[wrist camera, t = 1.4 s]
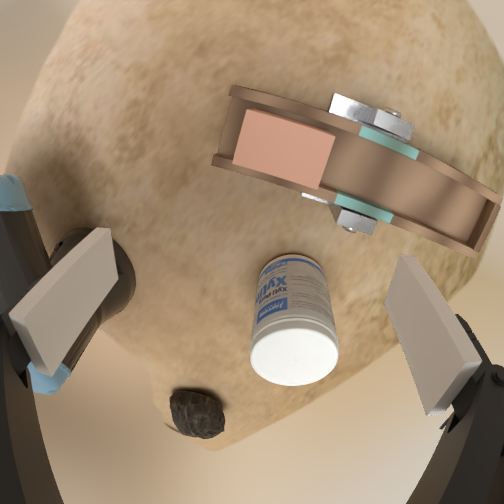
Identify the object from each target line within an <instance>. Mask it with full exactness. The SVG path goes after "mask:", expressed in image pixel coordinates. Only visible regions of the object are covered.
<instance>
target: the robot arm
mask: <svg viewBox="0 0 504 504" xmlns="http://www.w3.org/2000/svg"><path fill="white" fill-rule="evenodd" d="M32 210H33V206H32V205H30V203H29V200H28V197H27V194H26V191H25V188H24V185H23V183H22V181H21V179H20V178H19V177H18V176H17V175H15V174H4V175H0V504H64V503H63V500H62V498H61V495H60V493H59V490H58V487H57V484H56V481H55V478H54V475H53V473H52V470H51V466H50V463H49V459H48V456H47V453H46V449H45V445H44V442H43V438H42V434H41V430H40V425H39V421H38V416H37V411H36V406H35V401H34V395H33V391H34V392H37V393H40V394H53V393H55V392H57V391H58V390H59V389H60V387H61V386H62V384H63V383H64V382H65V380H66V379H67V377H69V376H70V375H71V372H72V370H73V369H74V367H75V365H76V364H77V362H78V360H79V358H80V357H81V355H82V353H83V352H84V350H85V348H86V347H87V345H88V343H89V342H90V340H91V339H92V337H93V335H94V334H95V332H96V330H97V329H98V327H99V326H100V325H101V324H102V323H104V322H105V321H107V320H108V319H110V318H111V317H113V316H114V315H115V314H117V313H119V312H121V311H122V310H123V309H124V308H125V307H126V305H127V304H128V302H129V301H130V299H131V298H132V296H133V294H134V291H135V275H134V271H133V268H132V265H131V263H130V261H129V259H128V257H127V256H126V254H125V253H124V251H123V250H122V249H121V248H120V247H119V245H118V244H117V243H115V242H114V241H113V240H112V236H111V229H110V228H98V227H97V228H96V229H95V230H93V229H88V228H80V229H76V230H73V231H71V232H69V233H68V234H67V235H66V236H64V237H63V238H62V239H61V240H60V241H59V242H58V243H57V245H56V247H55V248H54V251H53V253H52V255H51V257H50V259H49V257H48V254H47V252H46V249H45V246H44V244H43V241H42V238H41V236H40V233H39V230H38V227H37V224H36V221H35V218H34V215H33V212H32ZM384 306H385V308H386V310H387V313H388V315H389V317H390V320H391V322H392V324H393V327H394V329H395V332H396V334H397V337H398V339H399V342H400V344H401V346H402V349H403V352H404V354H405V357H406V360H407V362H408V365H409V368H410V370H411V373H412V376H413V378H414V381H415V384H416V387H417V389H418V393H419V395H420V398H421V401H422V404H423V408H424V411H425V414H426V416H432V415H438V414H443V413H444V412H445V411H446V410H447V408H448V407H449V406H450V405H451V404H452V406H453V408H454V412H453V413H452V414H451V415H450V417H449V418H448V419H447V420H446V421H445V422H444V423H443V424H442V426H441V427H440V429H443V428H444V427H445V426H446V427H445V430H444V432H443V434H442V436H441V439H440V441H439V443H438V445H437V447H436V450H435V452H434V454H433V456H432V458H431V460H430V462H429V464H428V466H427V468H426V470H425V471H424V473H423V475H422V477H421V479H420V481H419V483H418V484H417V486H416V488H415V490H414V491H413V493H412V495H411V496H410V498H409V500H408V501H407V503H406V504H504V367H502V366H500V365H492V364H491V362H490V360H489V358H488V356H487V355H486V353H485V351H484V350H483V348H482V346H481V345H480V343H479V341H478V340H477V338H476V336H475V335H474V333H472V330H471V328H470V327H469V325H468V323H467V322H466V321H465V320H464V319H463V318H462V317H461V316H459V315H458V314H454V313H453V311H452V309H451V308H450V306H449V305H448V303H447V302H446V300H445V299H444V297H443V296H442V294H441V293H440V291H439V290H438V288H437V287H436V285H435V284H434V282H433V281H432V280H431V278H430V277H429V275H428V274H427V273H426V271H425V270H424V268H423V267H422V266H421V264H420V263H419V262H418V260H417V259H416V257H415V256H412V255H403V254H400V256H399V259H398V263H397V266H396V269H395V272H394V275H393V278H392V281H391V284H390V287H389V290H388V293H387V296H386V299H385V302H384Z"/></svg>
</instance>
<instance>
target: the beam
mask: <svg viewBox="0 0 504 504" xmlns="http://www.w3.org/2000/svg"><path fill="white" fill-rule="evenodd" d="M229 96H232V99H231V103H230V106H229V110H228V114H227V118H226V121H225V125H224V129H223V133H222V137H221V141H220V145H219V149H218V153H216V154H215V155H213V160H212V164H211V165H212V166H216V167H220V168H223V169H227V170H230V171H234V172H237V173H241V174H244V175H248V176H251V177H255V178H258V179H261V180H265V181H268V182H271V183H274V184H278V185H281V186H284V187H287V188H290V189H293V190H296V191H300V192H303V193H306V194H309V195H312V196H315V197H318V198H321V199H324V200H326V201H329V202H332V203H335V204H338V205H341V206H344V207H346V208H349V209H352V210H355V211H358V212H360V213H363V214H366V215H368V216H371V217H374V218H376V219H379V220H382V221H384V222H387V223H389V224H392V225H395V226H397V227H400V228H402V229H405V230H407V231H410V232H412V233H415V234H417V235H420V236H422V237H424V238H427V239H429V240H432V241H434V242H436V243H439V244H441V245H443V246H446V247H448V248H450V249H452V250H455V251H457V252H459V253H462V254H464V255H466V256H468V257H470V258H473V259H474V258H475V256H476V254H477V252H478V253H479V252H480V250H481V248H482V246H483V244H484V242H485V240H486V238H487V236H488V234H489V232H490V230H491V228H492V226H493V223H494V221H495V219H496V217H497V215H498V212H499V210H500V208H501V207H500V204H501V201H502V199H503V198H502V197H501V196H499V195H497V194H496V192H494V191H492V190H491V189H489V188H488V187H486V186H484V185H483V184H481V183H480V182H478V181H476V180H475V179H473V178H471V177H469V176H468V175H466V174H464V173H463V172H461V171H459V170H457V169H455V168H454V167H452V166H450V165H448V164H446V163H444V162H442V161H441V160H439V159H437V158H435V157H433V156H431V155H429V154H427V153H425V152H423V151H421V150H419V149H417V148H415V147H413V146H410V145H408V144H406V143H404V142H402V141H400V140H397V139H395V138H393V137H391V136H388V135H386V134H384V133H382V132H379V131H377V130H374V129H372V128H370V127H367V126H365V125H362V124H360V123H357V122H354V121H352V120H349V119H346V118H344V117H341V116H338V115H336V114H333V113H330V112H327V111H324V110H321V109H318V108H315V107H312V106H309V105H306V104H303V103H300V102H296V101H293V100H290V99H286V98H283V97H279V96H276V95H272V94H268V93H265V92H261V91H257V90H253V89H249V88H245V87H240V86H236V85H235V86H231V90H230V93H229ZM247 109H259V110H262V111H266V112H270V113H273V114H277V115H280V116H283V117H287V118H290V119H293V120H297V121H300V122H303V123H306V124H309V125H312V126H315V127H318V128H321V129H324V130H327V131H329V132H330V133H332V134H333V135H334V136H335V140H334V143H333V146H332V149H331V152H330V155H329V157H328V160H327V163H326V166H325V169H324V172H323V175H322V178H321V180H320V183H319V186H318V189H317V190H316V189H313V188H310V187H307V186H304V185H301V184H298V183H295V182H292V181H289V180H286V179H282V178H279V177H276V176H273V175H269V174H266V173H263V172H259V171H256V170H253V169H249V168H246V167H242V166H239V165H235V164H232V162H233V158H234V154H235V150H236V146H237V143H238V139H239V135H240V132H241V128H242V124H243V121H244V117H245V113H246V110H247Z"/></svg>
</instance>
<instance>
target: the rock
mask: <svg viewBox="0 0 504 504" xmlns="http://www.w3.org/2000/svg"><path fill="white" fill-rule="evenodd" d="M222 408H223V407H222V404H220V403H219V402H217V401H215V400H214V399H212V398H211V397H209V396H208V395H202V394H198V393H195V392H188V391H179V392H176V393H175V394H173V395H172V396H171V397H170V409H171V413H172V418H173V422H174V424H175V425H176V427H177V428H178V430H179V431H180V432H181V434H183V435H185V436H191V437H199V438H202V439H209V438H213V437H214V436H216V435H218V434H220V433H221V432H223V431H224V425H225V417H224V413H223V410H222Z"/></svg>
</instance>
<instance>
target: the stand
mask: <svg viewBox="0 0 504 504" xmlns="http://www.w3.org/2000/svg"><path fill="white" fill-rule="evenodd" d="M328 112H330V113H333V114H336V115H338V116H341V117H344V118H346V119H349V120H352V121H354V122H357V123H360V124H362V125H365V126H367V127H370V128H372V129H374V130H377V131H379V132H382V133H384V134H386V135H388V136H391V137H393V138H395V139H397V140H400V141H402V142H404V143H405V142H406V139H407V140H409V141H410V138H411V135H412V132H413V129H414V125H412V124H410V123H408V122H406V121H404V120H402V119H400V116H401V113H399V112H397V111H395V110H393V109H390V108H387V107H386V110H385V112H384V111H382V110H380V109H376V108H372V107H369V106H367V105H364V104H362V103H359V102H357V101H354V100H352V99H349V98H346V97H344V96H341V95H338V94H336V93H334V94H333V97H332V101H331V104H330V107H329V110H328ZM301 196H304V197H307V198H310V199H313V200H316V201H320V202H323V203H326V204H328V205H329V208H330V210H331V212H332V215H333V217H334V219H335V222H336V224H339V225H342V227H343V228H344V229H345V230H347V231H349V232H352V233H356V231H360V232H363V233H366V234H369V235H372V233H373V230H374V228H375V226H376V224H377V220H376V219H375V218H374V217H371V216H368V215H366V214H363V213H360V212H358V211H355V210H352V209H349V208H346V207H344V206H341V205H338V204H335V203H332V202H329V201H326V200H324V199H321V198H318V197H315V196H312V195H309V194H306V193H303V192H301Z"/></svg>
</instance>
